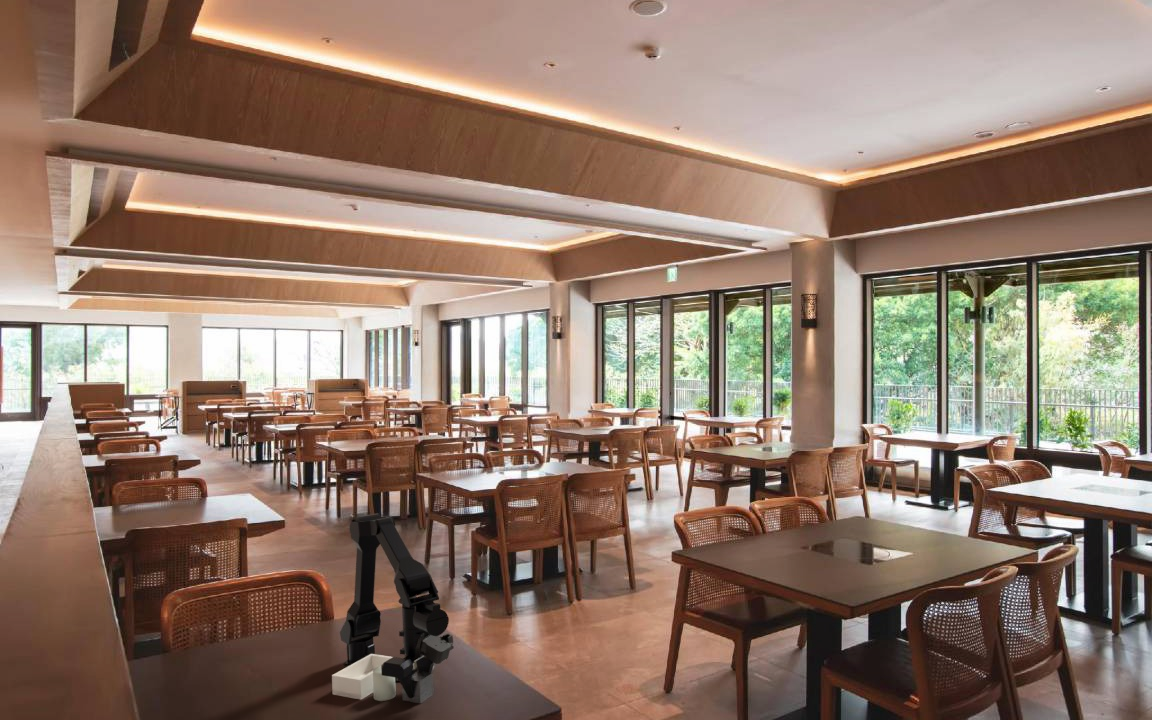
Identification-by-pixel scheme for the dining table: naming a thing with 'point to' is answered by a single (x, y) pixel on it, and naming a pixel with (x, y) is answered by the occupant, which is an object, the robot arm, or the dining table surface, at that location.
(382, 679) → the white pillar candle
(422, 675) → the iron block
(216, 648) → the dining table surface
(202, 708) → the dining table surface
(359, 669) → the tote
